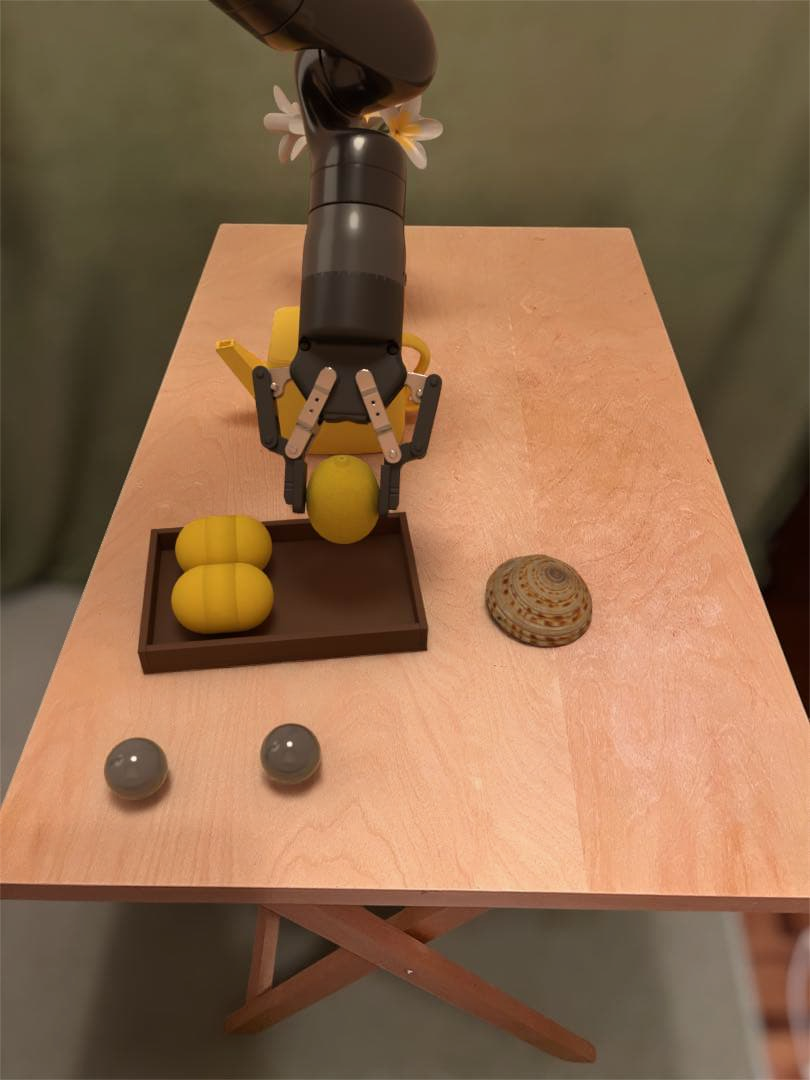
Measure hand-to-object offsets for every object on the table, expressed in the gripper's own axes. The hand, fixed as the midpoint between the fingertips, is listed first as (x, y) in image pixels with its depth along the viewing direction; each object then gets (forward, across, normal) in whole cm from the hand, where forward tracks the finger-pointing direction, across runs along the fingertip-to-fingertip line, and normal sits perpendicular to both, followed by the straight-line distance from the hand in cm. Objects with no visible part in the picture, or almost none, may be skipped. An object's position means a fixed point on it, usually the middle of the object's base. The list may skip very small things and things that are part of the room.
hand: (341, 514), depth 66 cm
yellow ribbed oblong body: (+8, -9, +5) cm, 13 cm away
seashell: (+6, +15, +8) cm, 18 cm away
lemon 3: (+2, 0, +4) cm, 5 cm away
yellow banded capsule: (+5, -10, +9) cm, 14 cm away
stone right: (+18, -2, -4) cm, 18 cm away
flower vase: (-26, -3, +41) cm, 49 cm away
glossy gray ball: (+19, -12, -5) cm, 23 cm away
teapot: (-11, -4, +25) cm, 28 cm away
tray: (+7, -5, +8) cm, 11 cm away
